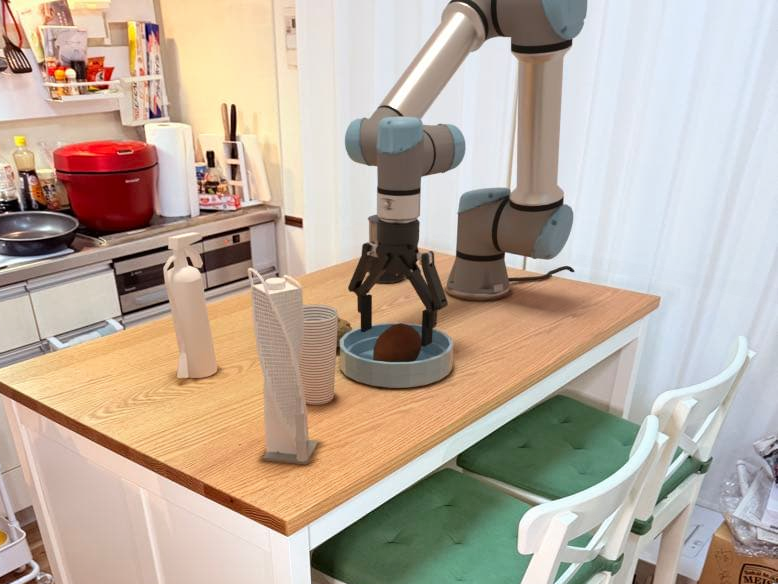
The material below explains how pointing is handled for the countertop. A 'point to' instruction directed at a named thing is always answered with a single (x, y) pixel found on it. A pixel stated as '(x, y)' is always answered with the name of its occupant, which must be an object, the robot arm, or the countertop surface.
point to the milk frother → (373, 237)
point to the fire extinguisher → (189, 309)
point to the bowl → (422, 371)
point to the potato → (398, 344)
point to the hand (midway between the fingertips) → (395, 337)
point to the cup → (319, 353)
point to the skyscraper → (281, 367)
